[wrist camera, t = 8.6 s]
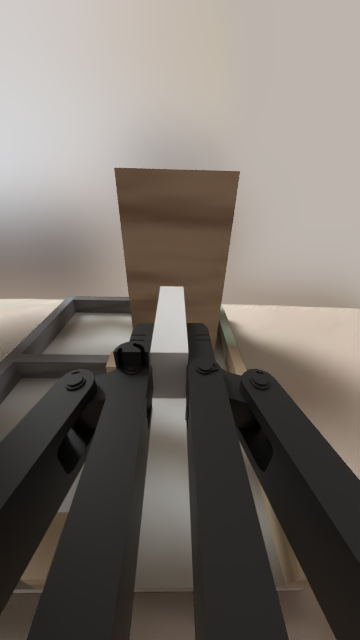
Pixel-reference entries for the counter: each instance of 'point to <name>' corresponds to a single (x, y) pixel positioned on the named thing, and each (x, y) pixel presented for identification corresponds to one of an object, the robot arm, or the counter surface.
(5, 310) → the counter surface
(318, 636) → the counter surface
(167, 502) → the grey flat tray
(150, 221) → the walnut block
